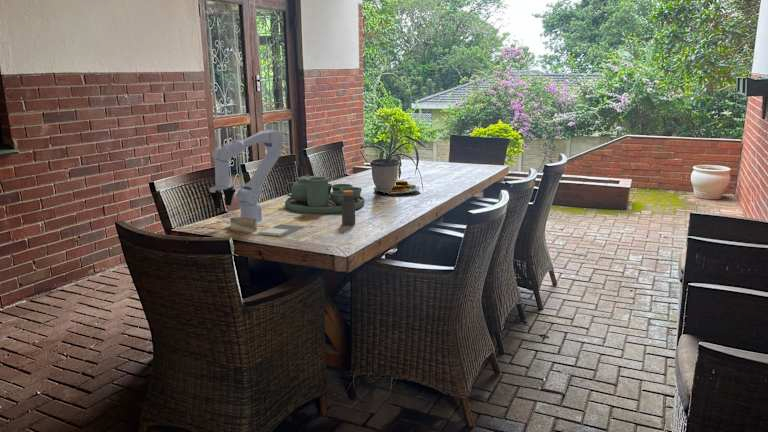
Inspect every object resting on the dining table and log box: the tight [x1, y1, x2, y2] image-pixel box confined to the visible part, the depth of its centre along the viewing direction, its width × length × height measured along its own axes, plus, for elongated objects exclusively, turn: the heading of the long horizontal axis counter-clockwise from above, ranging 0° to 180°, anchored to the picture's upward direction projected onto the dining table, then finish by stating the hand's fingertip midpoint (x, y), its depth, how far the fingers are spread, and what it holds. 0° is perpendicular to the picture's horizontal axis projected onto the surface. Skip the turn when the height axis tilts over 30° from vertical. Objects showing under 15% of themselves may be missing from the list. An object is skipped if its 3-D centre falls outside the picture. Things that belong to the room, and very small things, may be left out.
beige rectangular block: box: [229, 216, 258, 233], centre depth 255 cm, size 3×11×6 cm, turn 67°
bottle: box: [341, 190, 356, 227], centre depth 266 cm, size 6×6×15 cm
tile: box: [260, 227, 289, 237], centre depth 250 cm, size 7×1×9 cm
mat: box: [254, 223, 306, 239], centre depth 254 cm, size 20×13×1 cm, turn 157°
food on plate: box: [382, 179, 421, 196], centre depth 342 cm, size 25×25×7 cm
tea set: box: [284, 174, 366, 215], centre depth 306 cm, size 40×40×16 cm
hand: (223, 206), depth 260 cm, fingers open, 7 cm apart
